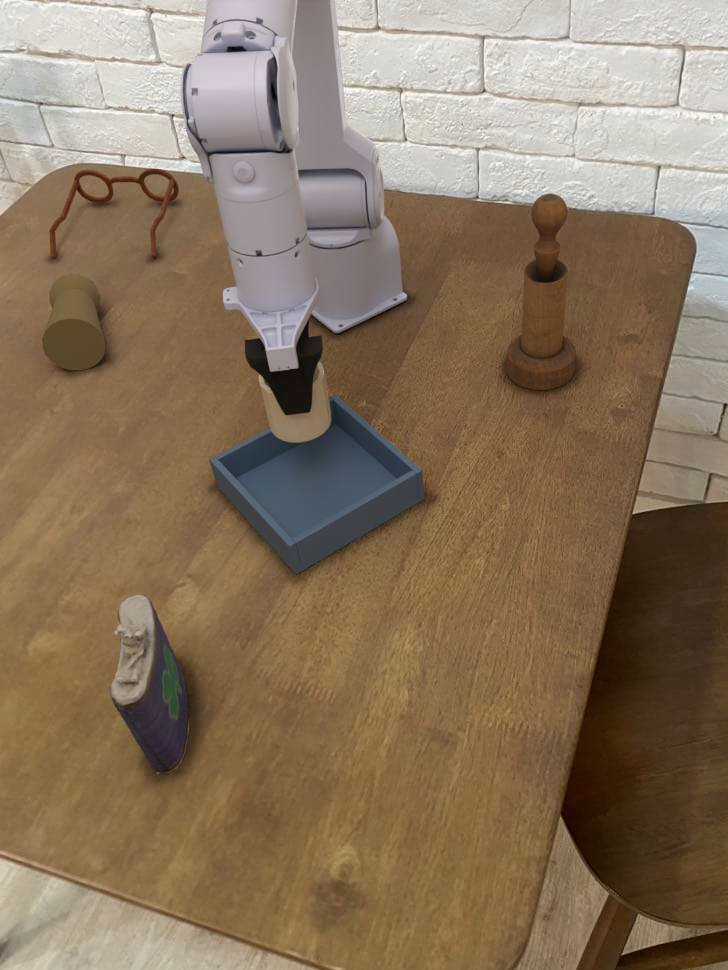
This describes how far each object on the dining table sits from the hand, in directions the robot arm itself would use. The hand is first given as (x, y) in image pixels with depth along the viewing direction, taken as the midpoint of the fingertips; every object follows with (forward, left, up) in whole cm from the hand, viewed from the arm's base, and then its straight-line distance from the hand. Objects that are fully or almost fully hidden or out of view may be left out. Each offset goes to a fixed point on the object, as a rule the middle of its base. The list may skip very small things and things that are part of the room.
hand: (296, 387), depth 76 cm
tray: (+1, +2, -10) cm, 11 cm away
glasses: (-6, -52, -11) cm, 54 cm away
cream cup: (0, 0, -4) cm, 4 cm away
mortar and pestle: (-25, +2, -11) cm, 28 cm away
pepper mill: (+9, -29, -7) cm, 31 cm away
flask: (+22, +14, -11) cm, 28 cm away
